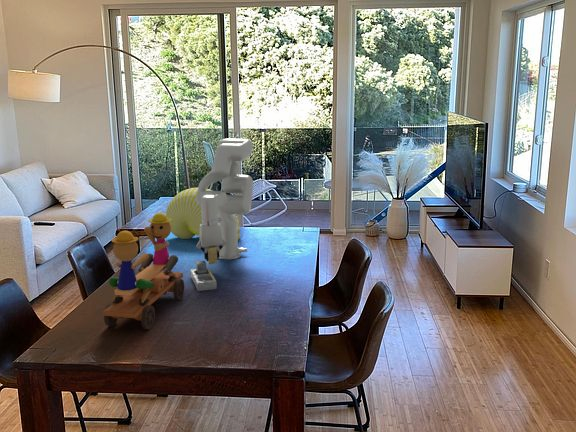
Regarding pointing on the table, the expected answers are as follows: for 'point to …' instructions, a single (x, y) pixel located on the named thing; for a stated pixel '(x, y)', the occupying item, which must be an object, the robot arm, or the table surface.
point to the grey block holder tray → (203, 280)
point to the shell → (187, 214)
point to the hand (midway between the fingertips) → (212, 259)
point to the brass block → (212, 255)
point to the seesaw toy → (143, 275)
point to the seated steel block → (201, 267)
